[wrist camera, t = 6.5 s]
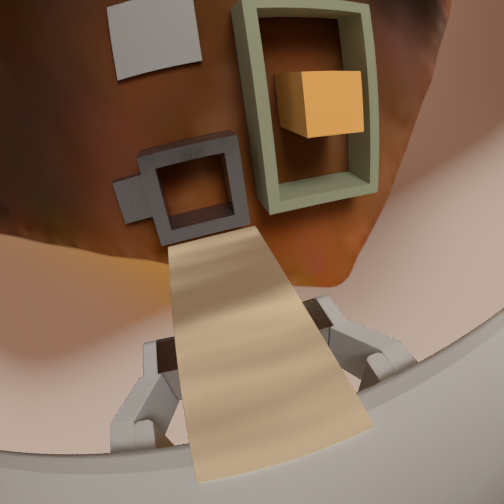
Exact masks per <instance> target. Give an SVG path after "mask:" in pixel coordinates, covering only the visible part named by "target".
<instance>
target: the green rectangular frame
mask: <svg viewBox="0 0 504 504" xmlns="http://www.w3.org/2000/svg"><path fill="white" fill-rule="evenodd" d="M230 11H231V17H232V24H233V31H234V37H235V44H236V51H237V58H238V65H239V71H240V78H241V85H242V92H243V100H244V107H245V114H246V121H247V128H248V136H249V143H250V150H251V158H252V165H253V172H254V180H255V188H256V195H257V199H258V200H259V202H260V203H261V204H262V206H263V207H264V208H265V209H266V211H267V212H268V213H269V215H272V214H277V213H281V212H285V211H290V210H294V209H299V208H304V207H308V206H313V205H317V204H322V203H327V202H331V201H336V200H341V199H346V198H351V197H355V196H360V195H365V194H370V193H375V192H378V175H379V108H378V86H377V71H376V59H375V48H374V39H373V31H372V23H371V16H370V9H369V4H363V3H356V2H349V1H342V0H238V1H237V3H236V4H235V5H234V6H233V7H232V8H231V9H230ZM263 17H313V18H330V19H337V21H338V28H339V36H340V44H341V53H342V62H343V71H361V82H362V97H363V118H364V132H357V133H347V139H348V171H347V172H341V173H335V174H329V175H323V176H318V177H312V178H307V179H301V180H296V181H291V182H286V183H281V184H278V176H277V166H276V156H275V147H274V138H273V129H272V120H271V112H270V104H269V96H268V88H267V80H266V72H265V65H264V57H263V50H262V43H261V36H260V29H259V22H258V18H263Z"/></svg>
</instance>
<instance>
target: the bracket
mask: <svg viewBox="0 0 504 504" xmlns="http://www.w3.org/2000/svg"><path fill="white" fill-rule="evenodd" d="M215 154H220V157H221V163H222V169H223V175H224V180H225V186H226V192H227V198H228V202H227V203H223V204H219V205H214V206H210V207H206V208H202V209H198V210H194V211H189V212H185V213H181V214H177V215H174V216H171V215H170V211H169V208H168V204H167V200H166V196H165V192H164V188H163V184H162V180H161V176H160V172H159V168H160V167H164V166H167V165H171V164H176V163H180V162H184V161H188V160H192V159H197V158H201V157H206V156H210V155H215ZM137 161H138V165H139V169H140V173H138V174H135V175H131V176H128V177H124V178H121V179H117V180H114V182H113V186H114V190H115V193H116V196H117V199H118V202H119V206H120V209H121V212H122V215H123V218H124V221H125V224H127V223H131V222H134V221H138V220H142V219H145V218H149V217H153V219H154V223H155V226H156V229H157V233H158V236H159V239H160V242H161V245H162V246H164V245H168V244H172V243H176V242H180V241H184V240H187V239H191V238H195V237H199V236H203V235H208V234H212V233H216V232H220V231H224V230H228V229H232V228H236V227H240V226H245V225H249V224H250V218H249V211H248V204H247V197H246V190H245V184H244V177H243V170H242V163H241V157H240V150H239V143H238V136H237V134H235V133H234V132H232V131H231V130H227V131H222V132H217V133H212V134H207V135H202V136H197V137H193V138H188V139H184V140H180V141H175V142H171V143H167V144H163V145H159V146H155V147H152V148H148V149H144V150H141V151H140V152H139V154H138V156H137Z"/></svg>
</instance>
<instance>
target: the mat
mask: <svg viewBox="0 0 504 504" xmlns="http://www.w3.org/2000/svg"><path fill="white" fill-rule="evenodd" d="M107 14H108V22H109V29H110V37H111V43H112V50H113V56H114V62H115V68H116V74H117V79H118V81H119V80H122V79H125V78H129V77H132V76H136V75H140V74H143V73H147V72H151V71H155V70H160V69H164V68H168V67H173V66H178V65H183V64H188V63H193V62H199V61H202V56H201V50H200V43H199V37H198V30H197V24H196V17H195V10H194V3H193V0H131V1H128V2H124V3H120V4H117V5H114V6H110V7H107Z"/></svg>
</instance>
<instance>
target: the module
mask: <svg viewBox="0 0 504 504" xmlns="http://www.w3.org/2000/svg"><path fill="white" fill-rule="evenodd" d="M274 80H275V88H276V96H277V104H278V113H279V121H280V127H282V128H284V129H287V130H289V131H292V132H294V133H297V134H299V135H301V136H304V137H306V138H312V137H320V136H328V135H337V134H347V133H357V132H364V118H363V97H362V82H361V71H309V72H291V73H278V74H274Z"/></svg>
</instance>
